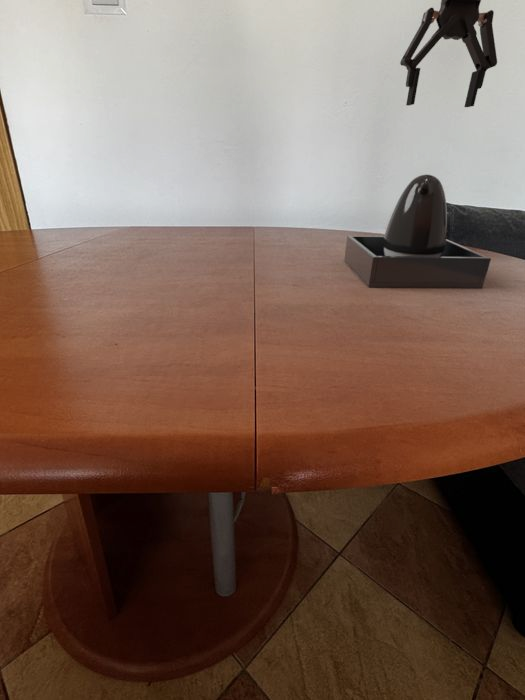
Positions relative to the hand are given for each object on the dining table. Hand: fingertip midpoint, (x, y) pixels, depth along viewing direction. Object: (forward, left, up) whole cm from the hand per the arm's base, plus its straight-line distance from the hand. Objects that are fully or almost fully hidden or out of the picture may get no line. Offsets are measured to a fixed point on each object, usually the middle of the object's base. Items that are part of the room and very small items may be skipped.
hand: (439, 105), depth 85 cm
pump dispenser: (+15, +33, -28) cm, 46 cm away
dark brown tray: (+15, +34, -29) cm, 47 cm away
